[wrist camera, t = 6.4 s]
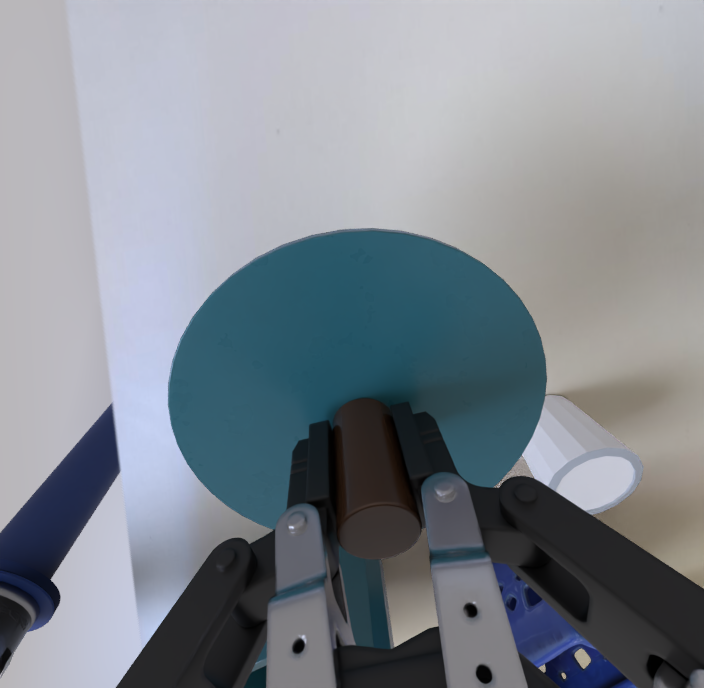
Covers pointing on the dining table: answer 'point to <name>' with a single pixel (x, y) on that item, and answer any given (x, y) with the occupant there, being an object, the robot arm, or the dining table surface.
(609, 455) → the shot glass
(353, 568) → the tin
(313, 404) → the lid
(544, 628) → the flower pot
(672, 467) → the dining table surface
